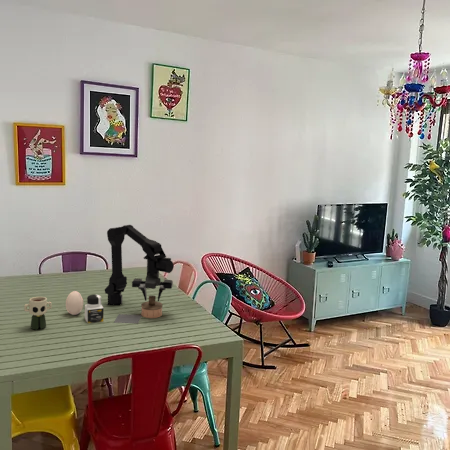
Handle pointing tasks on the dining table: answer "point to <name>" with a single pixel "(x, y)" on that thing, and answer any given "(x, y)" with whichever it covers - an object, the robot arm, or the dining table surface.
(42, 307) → the character mug
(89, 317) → the white boxy piece
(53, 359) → the dining table surface
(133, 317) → the mat
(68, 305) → the egg
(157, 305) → the lid
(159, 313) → the bowl
